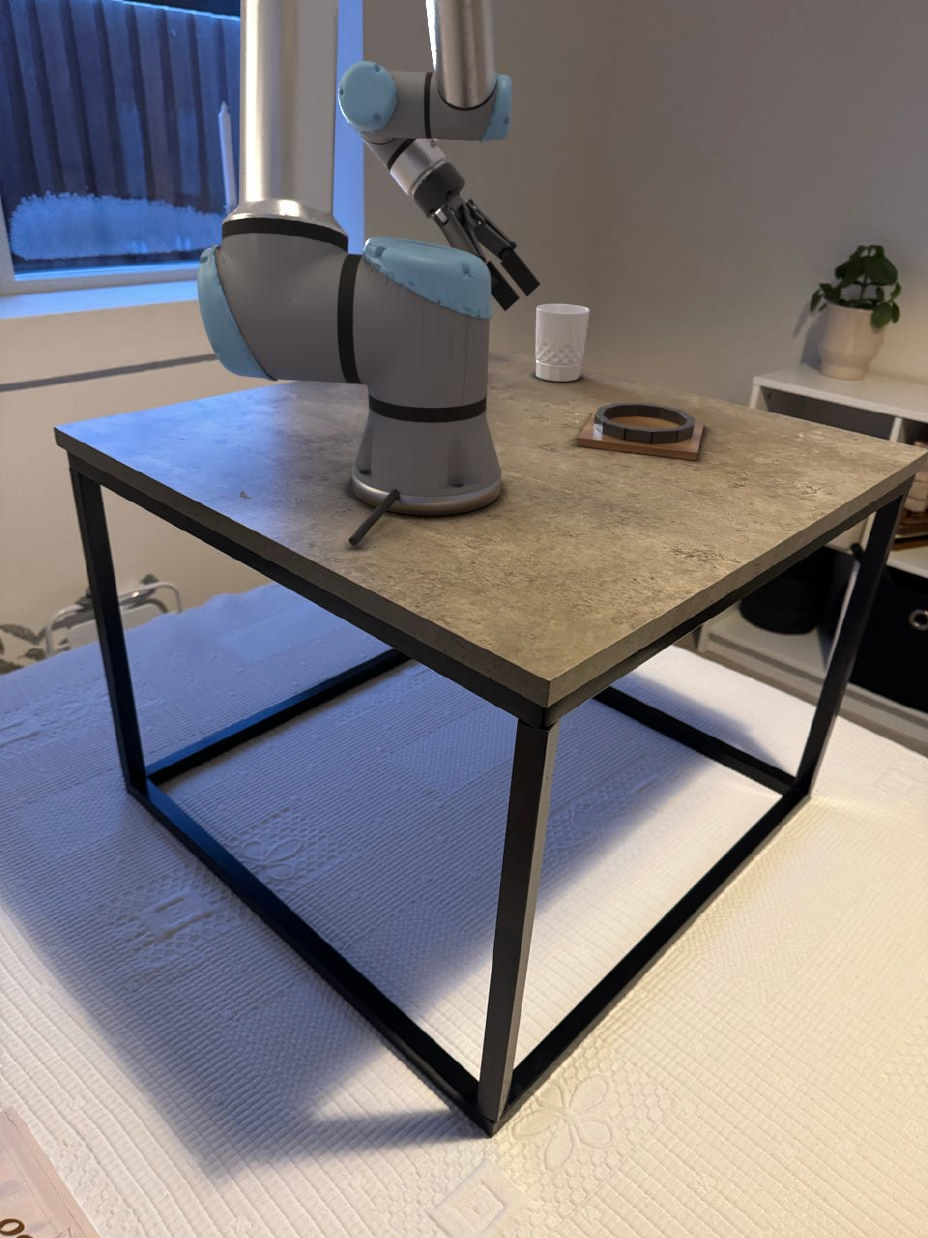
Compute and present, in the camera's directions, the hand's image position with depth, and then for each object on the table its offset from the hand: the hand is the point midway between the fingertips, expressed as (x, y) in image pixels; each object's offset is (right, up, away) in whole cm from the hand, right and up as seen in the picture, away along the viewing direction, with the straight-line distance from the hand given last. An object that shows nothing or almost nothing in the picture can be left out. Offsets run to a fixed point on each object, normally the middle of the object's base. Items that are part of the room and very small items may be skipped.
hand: (523, 297), depth 128 cm
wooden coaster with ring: (+13, -25, -21) cm, 35 cm away
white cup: (+5, -11, +4) cm, 13 cm away
